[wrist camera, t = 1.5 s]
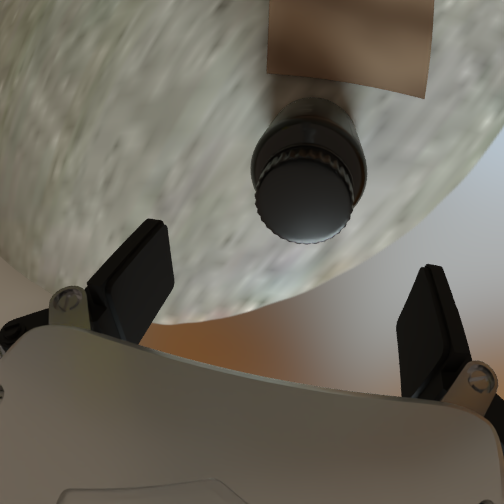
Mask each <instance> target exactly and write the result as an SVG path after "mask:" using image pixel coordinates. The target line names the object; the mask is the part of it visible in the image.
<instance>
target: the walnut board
mask: <svg viewBox="0 0 504 504" xmlns="http://www.w3.org/2000/svg"><path fill="white" fill-rule="evenodd" d="M433 14H434V0H270V4H269V28H268V51H267V73H268V74H282V75H293V76H303V77H312V78H320V79H327V80H334V81H341V82H347V83H353V84H359V85H364V86H370V87H375V88H380V89H384V90H389V91H393V92H398V93H402V94H406V95H410V96H414V97H418V98H422V99H424V98H425V92H426V85H427V78H428V70H429V62H430V52H431V42H432V30H433Z"/></svg>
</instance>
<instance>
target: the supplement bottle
mask: <svg viewBox="0 0 504 504" xmlns="http://www.w3.org/2000/svg"><path fill="white" fill-rule="evenodd" d="M251 179H252V183H253V186H254V189H255V191H256V193H255V199H256V202H255V205H256V207H257V208H258V210H257V213H258V214H259V215H260V216H261V221H263V222H264V223H265V224H266V227H267V228H269V229H270V230H271V231H272V232H273V233H274V234H276V235H278V236H279V237H280V238H282V239H286V240H287V241H289V242H295V243H297V244H301V243H303V244H310V243H313V244H317V243H319V242H325V241H326V240H327V239H330V238H333V237H334V236H335V235H336V234H338V233H340V231H341V229H343V228H344V227H346V223H347V222H348V221H349V220H350V214H351V213H352V211H353V208H354V207H355V206H356V205H357V203H358V202H359V200H360V199H361V197H362V195H363V192H364V190H365V186H366V181H367V165H366V159H365V156H364V153H363V149H362V146H361V143H360V140H359V137H358V135H357V132H356V129H355V126H354V124H353V122H352V120H351V119H350V117H349V116H348V114H347V113H346V112H345V111H344V110H343V109H342V108H341V107H339V106H338V105H336V104H335V103H333V102H331V101H328V100H325V99H321V98H303V99H299V100H297V101H294V102H292V103H290V104H289V105H287V106H286V107H285V108H284V109H283V110H282V111H281V112H280V113H279V114H278V115H277V116H276V118H275V119H274V121H273V122H272V123H271V125H270V126H269V127H268V129H267V130H266V131H265V133H264V134H263V135H262V137H261V138H260V140H259V141H258V143H257V145H256V147H255V150H254V152H253V155H252V159H251Z"/></svg>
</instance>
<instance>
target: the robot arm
mask: <svg viewBox="0 0 504 504" xmlns="http://www.w3.org/2000/svg"><path fill="white" fill-rule="evenodd" d="M87 285H88V286H87V287H86V288H85V290H84V289H83V288H81V287H79V286H68V287H65V288H62V289H60V290H59V291H57V292H56V293H55V294H54V295H53V296H52V298H51V299H50V302H49V308H48V309H44V310H41V311H38V312H35V313H32V314H29V315H26V316H23V317H20V318H17V319H14V320H12V321H9V322H8V323H6V324H5V325H4V326H3V328H2V329H1V331H0V504H504V400H503V399H501V397H500V396H499V395H497V394H496V392H497V388H498V379H497V376H496V374H495V372H494V371H493V369H492V368H491V367H490V366H489V365H487V364H485V363H484V362H481V361H472V358H471V354H470V350H469V346H468V343H467V339H466V335H465V332H464V328H463V325H462V322H461V318H460V316H459V312H458V309H457V307H456V305H455V302H454V299H453V296H452V293H451V290H450V287H449V284H448V281H447V279H446V276H445V273H444V271H443V268H442V267H441V266H437V265H431V264H426V266H425V267H421V268H420V270H419V272H418V275H417V277H416V280H415V282H414V285H413V287H412V290H411V292H410V294H409V296H408V299H407V301H406V303H405V305H404V308H403V310H402V312H401V314H400V316H399V318H398V321H397V325H396V332H397V341H398V352H399V364H400V377H401V393H402V394H401V395H402V397H396V396H387V395H378V394H369V393H361V392H353V391H345V390H338V389H331V388H324V387H318V386H312V385H305V384H300V383H294V382H288V381H283V380H278V379H273V378H267V377H262V376H258V375H252V374H248V373H243V372H239V371H234V370H230V369H226V368H221V367H217V366H213V365H209V364H205V363H201V362H197V361H194V360H190V359H186V358H182V357H178V356H175V355H171V354H168V353H164V352H161V351H157V350H154V349H151V348H147V347H144V346H140V345H138V344H139V342H140V340H141V339H142V337H143V336H144V334H145V332H146V331H147V329H148V328H149V326H150V324H151V323H152V321H153V320H154V318H155V316H156V315H157V313H158V312H159V310H160V308H161V307H162V305H163V304H164V302H165V300H166V299H167V297H168V296H169V294H170V292H171V291H172V289H173V287H174V274H173V267H172V260H171V252H170V244H169V236H168V228H167V226H166V225H164V223H163V221H161V220H155V219H146V220H145V221H144V222H143V223H142V224H141V225H140V226H139V227H138V228H137V229H136V230H135V231H134V232H133V233H132V234H131V235H130V237H129V238H128V239H127V240H126V241H125V242H124V243H123V244H122V245H121V246H120V247H119V248H118V249H117V250H116V251H115V252H114V253H113V254H112V255H111V257H110V258H109V259H108V260H107V261H106V262H105V263H104V264H103V265H102V266H101V267H100V269H99V270H98V271H97V272H96V273H95V274H94V275H93V276H92V277H91V279H90V280H89V281H88V282H87Z"/></svg>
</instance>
